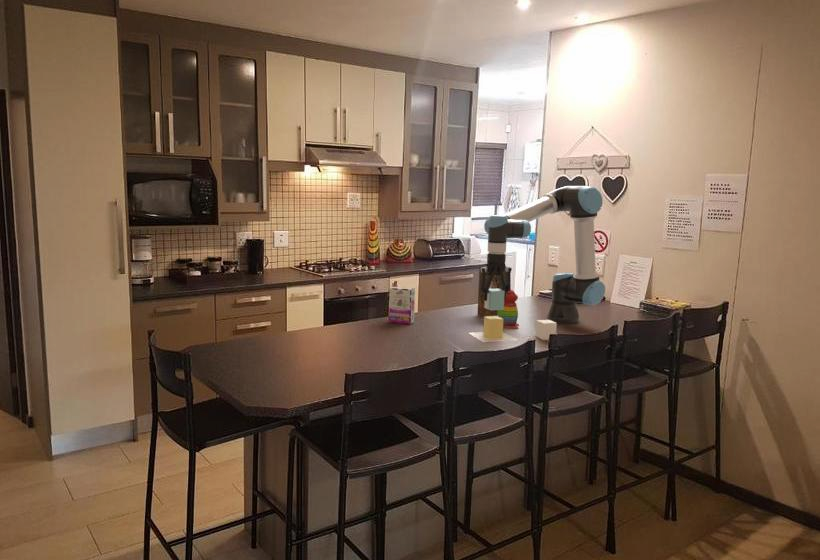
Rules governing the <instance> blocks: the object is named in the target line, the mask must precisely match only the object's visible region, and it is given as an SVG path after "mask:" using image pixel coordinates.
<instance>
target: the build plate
mask: <svg viewBox="0 0 820 560" xmlns="http://www.w3.org/2000/svg"><path fill="white" fill-rule="evenodd" d="M483 333H484V331H479V332H477V331H476V332H468V334H469V335H471V336H472V337H474V338H475V339H477V340H479V341H480V342H482V343H492V342H493V343H494V342H495V343H496V342H510V341H519V339H518V338H516V337H514V336H513V335H511V334H508V333H506V332H505V331H503V338H490V339H489V338H488V337H486V336H484V335H483Z"/></svg>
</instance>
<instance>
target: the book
mask: <svg viewBox="0 0 820 560" xmlns="http://www.w3.org/2000/svg"><path fill="white" fill-rule="evenodd" d="M486 265H487V264H479V269H478V285H479V284H480V275H481V272H480V268H481V267H482V268H483V267H486ZM505 272H506V271H505V270H504V271H503V276H504V277H503V278H504V282H505ZM487 275H488V270H486V277H485V283H486V280H487V277H488V276H487ZM496 288H498V289H501V286H500V282H499V278H498V276H497V275H495V276H494V277H493V278H492V281H491V284H490V287H489V289H496ZM477 289H478V295H477V296H478V297H477V313H476V314H477V316H478V317H482V318H484V317H486V316H497V311H498V310H489V309H486V308H484V304H485V301H484V300H483V292H481V291H479V287H478V288H477Z"/></svg>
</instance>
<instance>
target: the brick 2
mask: <svg viewBox="0 0 820 560" xmlns="http://www.w3.org/2000/svg"><path fill="white" fill-rule="evenodd" d="M535 324H536V326H535V327H536V328H535V337H536V338H538V339H540V340H542V341H546V340H547V341H549V340H548V339H549V335H550V334H556V335H557V324H558V323H556V322H553V321H551V320H547V319H537V320H536V323H535Z"/></svg>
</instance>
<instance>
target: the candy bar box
mask: <svg viewBox="0 0 820 560" xmlns="http://www.w3.org/2000/svg"><path fill="white" fill-rule="evenodd" d="M415 290H416V288H413V287H406V286H405V287H404V286H402V287H401V286H391V287H389V288H388V299H389V300H388V323H391V324H404V325H412V324H414V323H415V303H416V302H415V299H416V298H415V297H416V296H415V295H416V293H415V292H416V291H415Z"/></svg>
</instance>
